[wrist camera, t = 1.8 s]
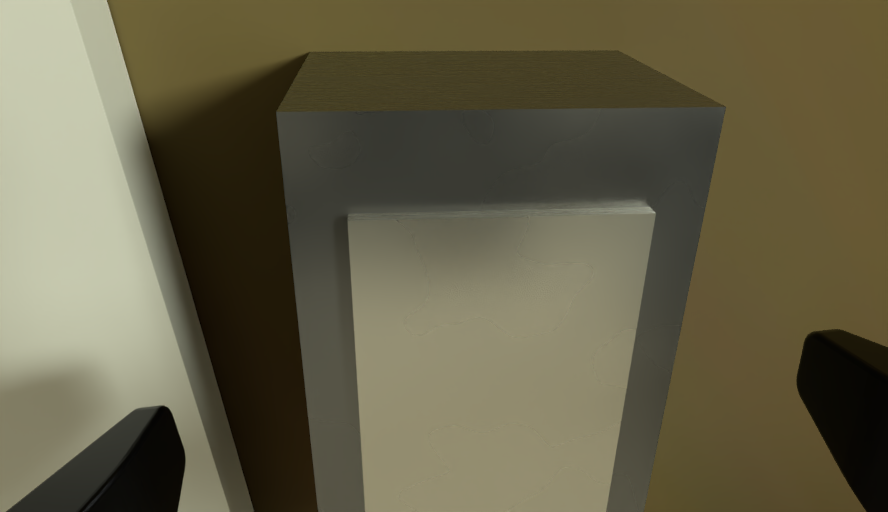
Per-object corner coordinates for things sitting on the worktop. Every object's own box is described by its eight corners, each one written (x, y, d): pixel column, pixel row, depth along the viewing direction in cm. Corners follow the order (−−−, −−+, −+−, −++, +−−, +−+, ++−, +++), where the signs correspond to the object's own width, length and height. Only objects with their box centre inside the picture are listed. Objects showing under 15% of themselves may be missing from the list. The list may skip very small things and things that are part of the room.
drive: (613, 47, 11) (734, 111, 7) (568, 421, 15) (633, 592, 11) (311, 49, 11) (273, 116, 7) (341, 433, 14) (326, 614, 10)
